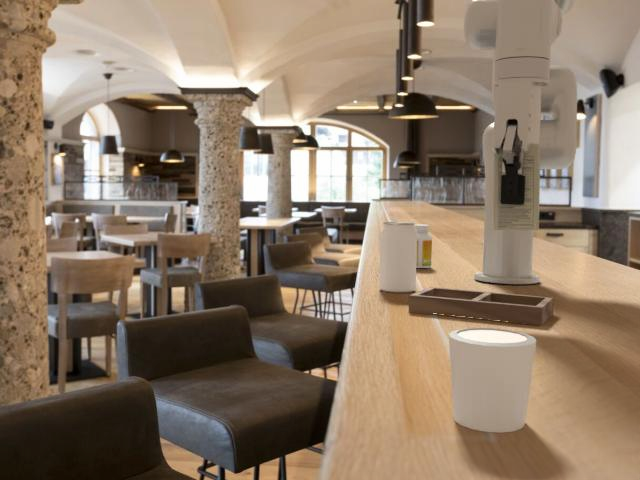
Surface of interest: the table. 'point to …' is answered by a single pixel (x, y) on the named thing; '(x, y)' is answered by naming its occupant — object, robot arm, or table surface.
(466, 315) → the divided wooden tray
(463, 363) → the white tapered cup
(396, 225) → the can
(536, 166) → the skincare box
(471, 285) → the table surface
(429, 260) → the supplement bottle
